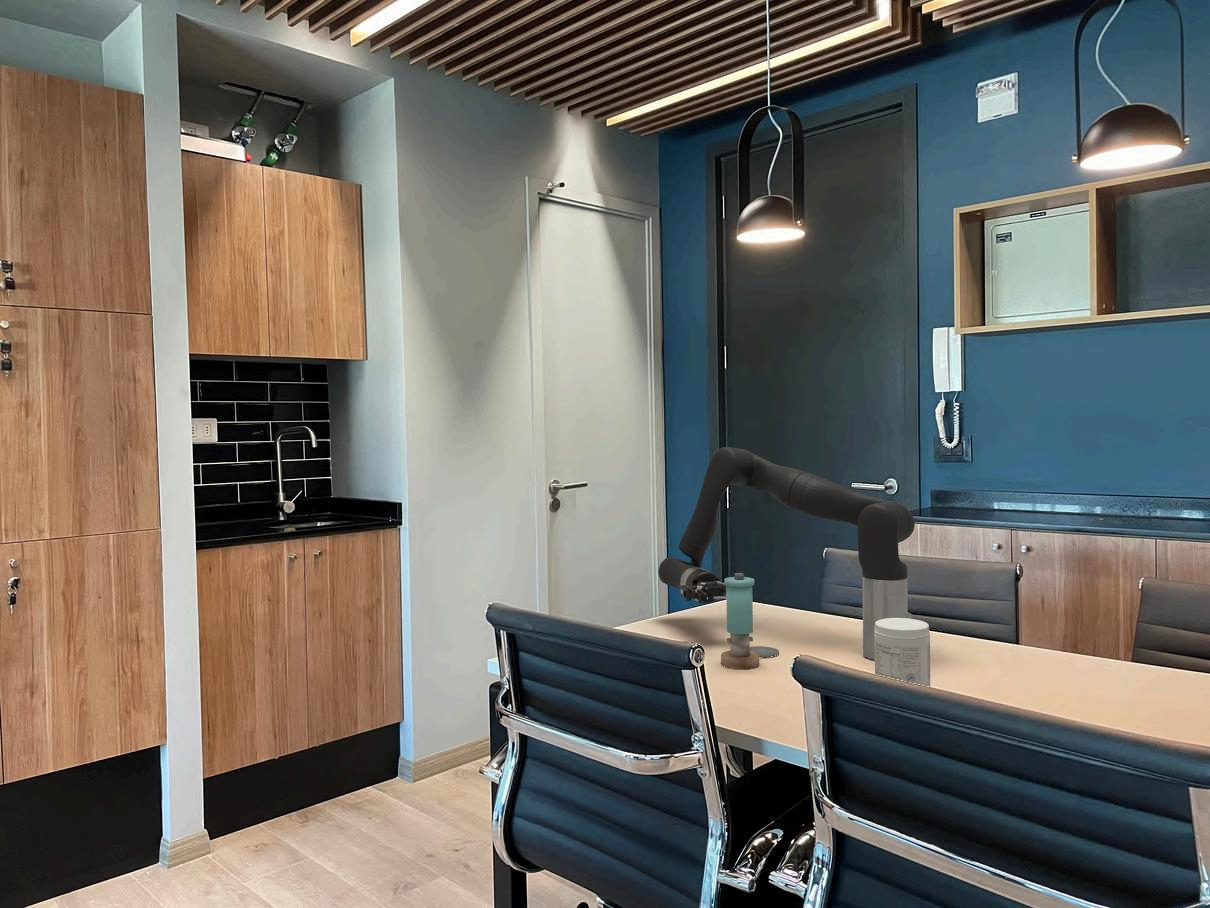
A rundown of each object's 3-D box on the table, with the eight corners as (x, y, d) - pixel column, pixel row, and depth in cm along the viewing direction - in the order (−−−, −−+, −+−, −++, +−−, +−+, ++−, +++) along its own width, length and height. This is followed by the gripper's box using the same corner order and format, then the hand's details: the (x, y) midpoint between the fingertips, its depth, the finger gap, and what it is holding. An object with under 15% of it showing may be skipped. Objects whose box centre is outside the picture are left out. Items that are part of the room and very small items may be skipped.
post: (750, 658, 196) (750, 625, 195) (765, 667, 188) (765, 634, 188) (715, 660, 194) (715, 628, 194) (729, 670, 186) (728, 637, 186)
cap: (748, 627, 194) (747, 570, 194) (759, 633, 188) (758, 575, 188) (720, 629, 193) (720, 572, 192) (731, 635, 187) (730, 576, 186)
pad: (770, 647, 204) (770, 645, 204) (785, 656, 196) (784, 653, 196) (736, 650, 202) (736, 647, 202) (750, 659, 195) (750, 656, 194)
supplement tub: (894, 693, 169) (894, 614, 169) (941, 704, 162) (941, 623, 162) (863, 703, 163) (863, 622, 163) (911, 716, 156) (910, 631, 155)
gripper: (671, 570, 214) (693, 582, 198) (728, 567, 217) (754, 578, 201) (671, 602, 214) (693, 616, 198) (728, 598, 217) (754, 612, 201)
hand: (724, 597), depth 200 cm, fingers open, 8 cm apart
